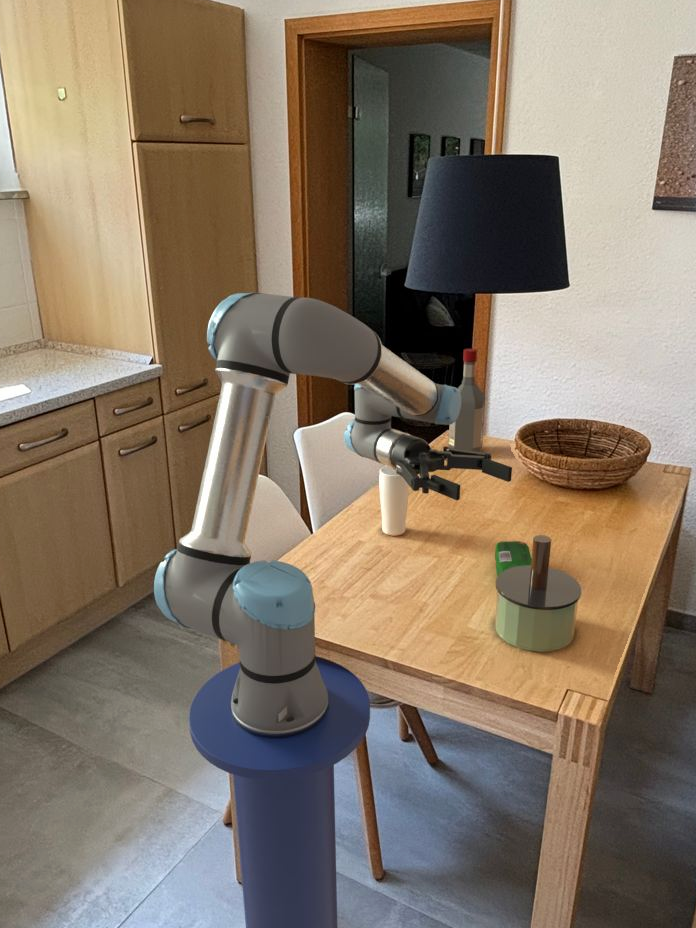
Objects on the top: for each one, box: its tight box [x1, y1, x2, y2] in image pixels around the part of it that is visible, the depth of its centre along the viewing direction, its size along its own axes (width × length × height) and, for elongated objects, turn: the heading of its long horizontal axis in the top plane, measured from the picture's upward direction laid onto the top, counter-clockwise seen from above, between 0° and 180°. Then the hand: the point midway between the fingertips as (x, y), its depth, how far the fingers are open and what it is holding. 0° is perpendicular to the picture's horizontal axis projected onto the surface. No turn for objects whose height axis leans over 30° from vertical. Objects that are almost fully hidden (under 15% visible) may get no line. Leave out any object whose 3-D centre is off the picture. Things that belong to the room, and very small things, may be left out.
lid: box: [495, 534, 582, 610], centre depth 133 cm, size 15×15×10 cm
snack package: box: [494, 540, 532, 578], centre depth 156 cm, size 7×16×5 cm, turn 173°
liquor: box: [448, 348, 486, 452], centre depth 219 cm, size 9×9×30 cm
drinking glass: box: [378, 465, 410, 537], centre depth 173 cm, size 7×7×15 cm
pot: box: [494, 590, 579, 653], centre depth 136 cm, size 14×14×8 cm
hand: (485, 483), depth 137 cm, fingers open, 13 cm apart
